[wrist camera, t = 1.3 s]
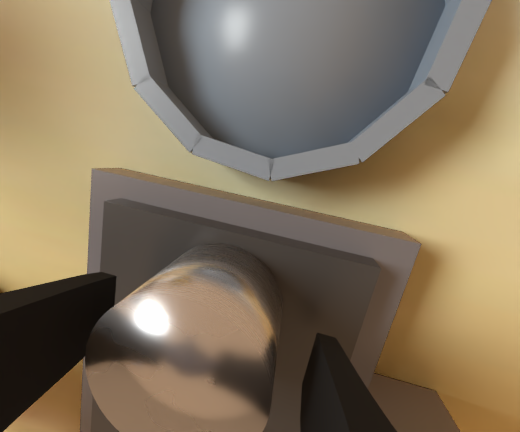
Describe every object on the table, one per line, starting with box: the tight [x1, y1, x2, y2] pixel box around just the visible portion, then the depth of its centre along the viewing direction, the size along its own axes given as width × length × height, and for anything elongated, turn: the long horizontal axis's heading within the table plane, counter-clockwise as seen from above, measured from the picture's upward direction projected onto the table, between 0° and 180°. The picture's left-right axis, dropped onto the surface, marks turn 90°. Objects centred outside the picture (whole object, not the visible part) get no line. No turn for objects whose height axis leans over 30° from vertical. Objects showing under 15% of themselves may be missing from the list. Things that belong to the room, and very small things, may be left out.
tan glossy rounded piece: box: [85, 243, 282, 432], centre depth 8 cm, size 5×5×4 cm
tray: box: [110, 0, 492, 181], centre depth 9 cm, size 12×12×2 cm
